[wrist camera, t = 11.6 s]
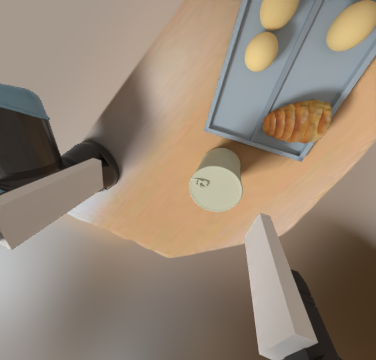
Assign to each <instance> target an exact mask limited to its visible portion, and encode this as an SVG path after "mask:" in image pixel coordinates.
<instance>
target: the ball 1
mask: <svg viewBox="0 0 376 360" xmlns="http://www.w3.org/2000/svg"><path fill="white" fill-rule="evenodd" d="M277 52H278V40H277V38H276V36H275V35H274V34H272V33H270V32H262V33H259V34H258V35H256V36H255V37H254V38H253V39H252V40H251V41H250V42H249V44H248V46H247V48H246V51H245V64H246V66H247V68H248V69H250V70H251V71H253V72H260V71H263V70H265V69H266V68H268V67H269V66H270V65H271V64H272V62H273V61H274V59H275V58H276V55H277Z"/></svg>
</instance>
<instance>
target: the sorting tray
mask: <svg viewBox="0 0 376 360" xmlns="http://www.w3.org/2000/svg"><path fill="white" fill-rule="evenodd" d="M262 1H263V0H242V2H241V6H240V9H239V13H238V16H237V19H236V23H235V26H234V30H233V33H232V36H231V40H230V43H229V47H228V50H227V53H226V57H225V60H224V64H223V67H222V70H221V74H220V77H219V81H218V84H217V87H216V91H215V94H214V98H213V101H212V105H211V108H210V111H209V115H208V118H207V122H206V125H205V128H204V131H206V132H209V133H212V134H216V135H219V136H222V137H225V138H228V139H231V140H234V141H238V142H241V143H244V144H247V145H250V146H253V147H256V148H260V149H263V150H266V151H269V152H272V153H275V154H278V155H282V156H285V157H288V158H291V159H294V160H297V161H300V162H301V161H302V160H303V158H304V157H305V156H306V154H307V153H308V151H309V150H310V148H311V147H312V146H313V144H314V143H315V142H313V143H312V142H308V143H305V144H304V143H301V142H292V143H288V142H286V141H283V140H277V139H275V138H273V137H270V136H267V135H266V134H265V133H264V131H263V130H262V123H263V119H264V117H265V116H266V115H267V114H269V113H270V112H272V111H273V110H275V109H278V108H280V107H284V106H287V105H290V104H292V103H295V102H299V101H308V100H312V99H316V100H319V101H322V102H329V103H330V106H331V108H332V115H331V118H332V117H333V116H334V114H335V113H336V111H337V110H338V108H339V107H340V105H341V104H342V103H343V101H344V100H345V98H346V97H347V95H348V94H349V93H350V91H351V90H352V88H353V87H354V85H355V84H356V83H357V81H358V80H359V78H360V77H361V75H362V74H363V73H364V71H365V70H366V68H367V67H368V65H369V64H370V63H371V61H372V60H373V58H374V57H375V55H376V26H375V27H374V29H373V30H372V32H371V33H370V34H369V35H368V36H367V37H366V38H365V39H364V40H363V41H362V42H361V43H359V44H358V45H356V46H355V47H353V48H351V49H348V50H345V51H333V50H331V49H330V48H329V47H328V45H327V42H326V37H327V33H328V30H329V28H330V26H331V24H332V22H333V21H334V20H335V18H336V17H337V16H338V15H339V14H340V13H341V12H342V11H343V10H344V9H346V8H347V7H349V6H350V5H352V4H354V3H356V2H359V1H363V0H299V3H298V6H297V9H296V11H295V13H294V15H293V16H292V18H291V19H290V20H289V21H288V23H287V24H286V25H284V26H283V27H281V28H280V29H278V30H274V31H270V30H267V29H265V28H264V27H263V26H262V24H261V21H260V8H261V4H262ZM371 1H374V2H376V0H371ZM262 32H270V33H272V34H274V35H275V36H276V38H277V40H278V52H277V55H276V58H275V59H274V61H273V62H272V64H271V65H270V66H269V67H268V68H266V69H265V70H263V71H260V72H253V71H251V70H250V69H248V68H247V66H246V64H245V51H246V48H247V46H248V44H249V42H250V41H251V40H252V39H253V38H254V37H255V36H256V35H258V34H259V33H262Z"/></svg>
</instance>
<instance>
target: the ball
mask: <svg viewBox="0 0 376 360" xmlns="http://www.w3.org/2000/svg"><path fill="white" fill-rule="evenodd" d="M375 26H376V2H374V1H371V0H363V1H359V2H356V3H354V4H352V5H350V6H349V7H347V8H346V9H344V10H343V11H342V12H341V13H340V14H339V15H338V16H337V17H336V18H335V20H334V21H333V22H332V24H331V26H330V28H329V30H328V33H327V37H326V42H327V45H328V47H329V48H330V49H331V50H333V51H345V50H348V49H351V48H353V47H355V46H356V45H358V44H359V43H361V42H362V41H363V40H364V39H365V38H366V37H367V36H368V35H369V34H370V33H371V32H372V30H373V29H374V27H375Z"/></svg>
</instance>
